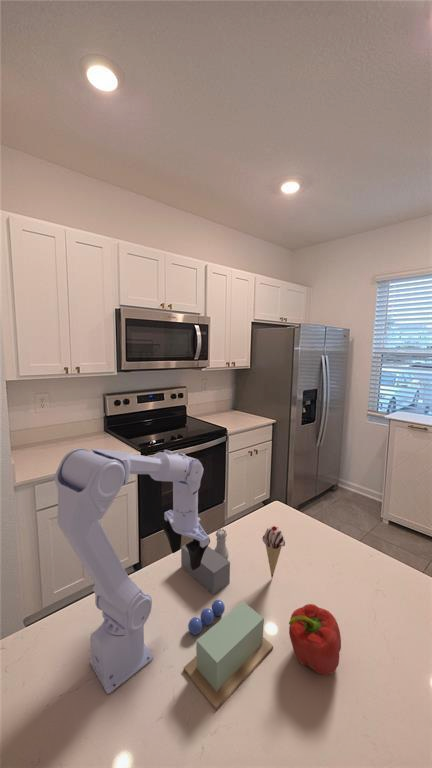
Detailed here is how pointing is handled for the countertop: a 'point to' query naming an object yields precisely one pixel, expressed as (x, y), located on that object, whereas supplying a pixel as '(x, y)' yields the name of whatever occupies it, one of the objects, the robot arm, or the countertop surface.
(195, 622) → the marble
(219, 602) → the marble
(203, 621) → the marble
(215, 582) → the gray block
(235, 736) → the countertop surface
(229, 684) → the cork trivet
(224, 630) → the sage cover
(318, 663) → the vegetable
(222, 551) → the rook chess piece
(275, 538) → the ice cream cone
